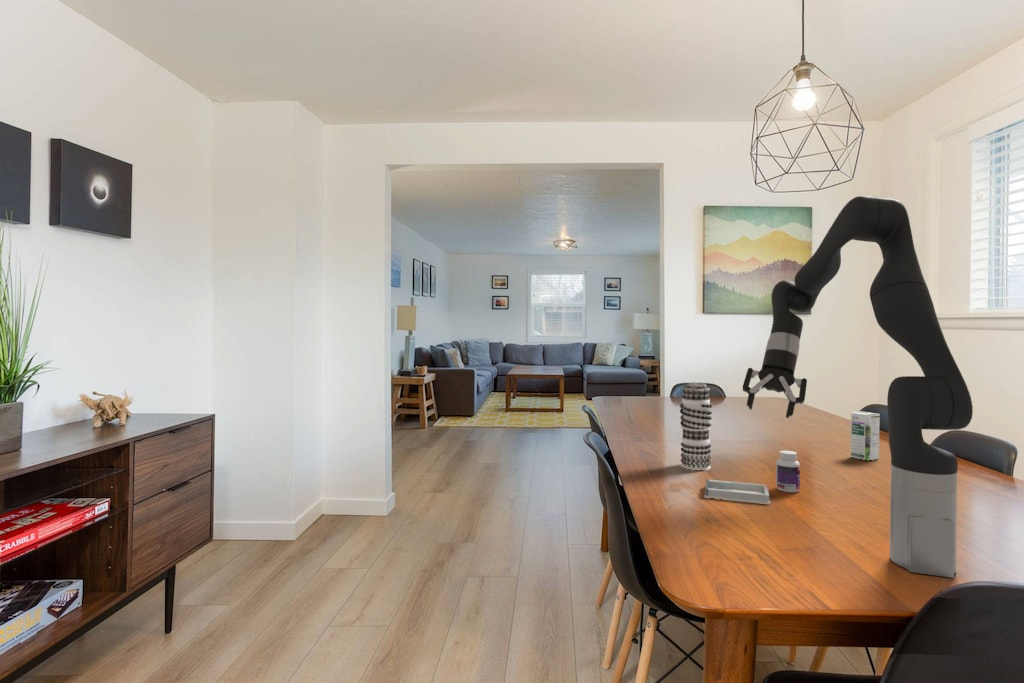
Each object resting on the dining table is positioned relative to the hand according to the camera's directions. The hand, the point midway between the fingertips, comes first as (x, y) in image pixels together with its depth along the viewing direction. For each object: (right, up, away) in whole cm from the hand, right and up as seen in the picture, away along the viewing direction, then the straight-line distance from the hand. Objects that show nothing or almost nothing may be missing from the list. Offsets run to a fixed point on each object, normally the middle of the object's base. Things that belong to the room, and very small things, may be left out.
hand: (768, 412), depth 133 cm
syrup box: (+46, -19, +33) cm, 60 cm away
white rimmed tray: (-9, -20, -1) cm, 22 cm away
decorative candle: (-9, -20, +25) cm, 34 cm away
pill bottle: (+6, -20, +3) cm, 22 cm away
